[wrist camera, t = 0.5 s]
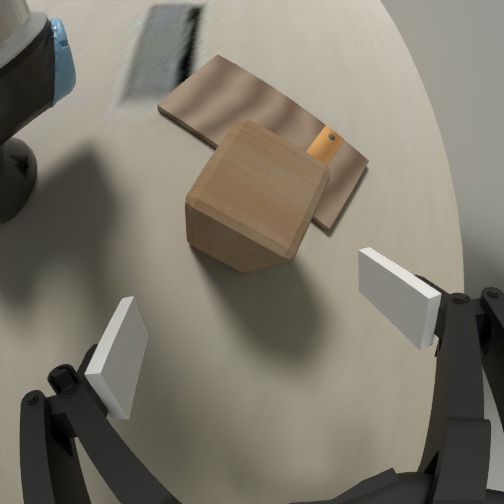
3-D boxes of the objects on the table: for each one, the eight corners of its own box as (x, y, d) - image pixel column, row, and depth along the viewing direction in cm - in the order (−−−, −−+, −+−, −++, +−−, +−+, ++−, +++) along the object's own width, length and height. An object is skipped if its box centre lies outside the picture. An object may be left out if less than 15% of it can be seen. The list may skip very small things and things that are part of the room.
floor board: (157, 110, 42) (157, 104, 40) (217, 59, 46) (218, 53, 44) (325, 230, 45) (330, 228, 44) (364, 163, 49) (369, 160, 47)
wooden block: (217, 185, 43) (240, 110, 23) (275, 217, 44) (338, 167, 25) (184, 242, 41) (179, 203, 21) (245, 276, 42) (293, 266, 23)
